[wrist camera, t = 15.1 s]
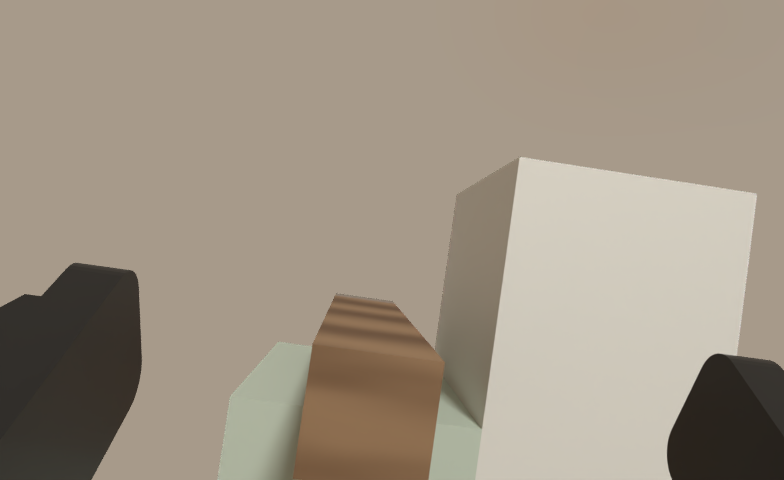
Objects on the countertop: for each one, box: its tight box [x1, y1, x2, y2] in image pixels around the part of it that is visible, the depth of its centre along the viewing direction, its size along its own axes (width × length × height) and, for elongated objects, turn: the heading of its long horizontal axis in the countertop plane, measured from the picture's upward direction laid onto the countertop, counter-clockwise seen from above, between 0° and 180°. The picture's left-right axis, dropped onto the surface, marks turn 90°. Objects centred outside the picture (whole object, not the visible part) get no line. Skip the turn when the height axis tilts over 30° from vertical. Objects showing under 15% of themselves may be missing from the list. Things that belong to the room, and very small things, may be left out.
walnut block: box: [293, 293, 445, 480], centre depth 29 cm, size 24×4×4 cm, turn 3°
